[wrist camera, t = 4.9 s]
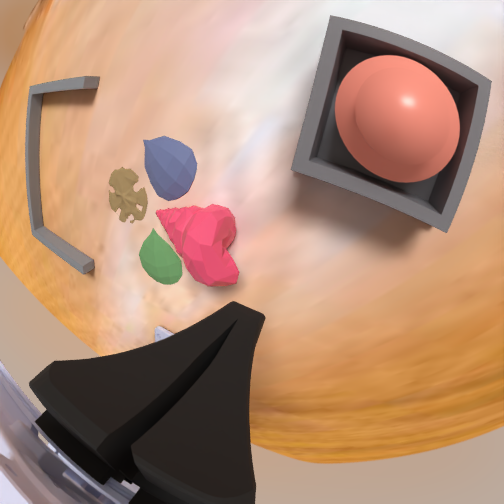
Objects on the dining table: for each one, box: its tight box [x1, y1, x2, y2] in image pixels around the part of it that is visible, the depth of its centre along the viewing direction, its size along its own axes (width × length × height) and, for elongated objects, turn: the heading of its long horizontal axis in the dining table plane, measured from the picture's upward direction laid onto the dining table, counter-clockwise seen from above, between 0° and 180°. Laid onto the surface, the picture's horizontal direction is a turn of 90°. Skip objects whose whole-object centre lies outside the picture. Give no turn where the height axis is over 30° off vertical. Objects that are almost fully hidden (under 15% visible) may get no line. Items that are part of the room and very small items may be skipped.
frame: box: [25, 76, 100, 274], centre depth 21 cm, size 18×12×2 cm, turn 166°
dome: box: [335, 55, 460, 183], centre depth 9 cm, size 5×5×3 cm
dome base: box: [291, 15, 492, 233], centre depth 10 cm, size 8×8×3 cm
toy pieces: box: [109, 136, 239, 286], centre depth 17 cm, size 12×11×4 cm
